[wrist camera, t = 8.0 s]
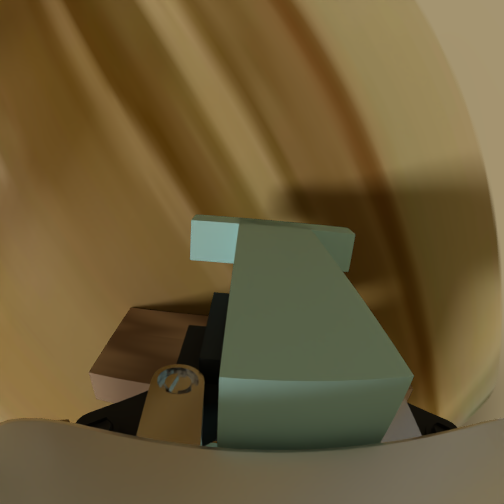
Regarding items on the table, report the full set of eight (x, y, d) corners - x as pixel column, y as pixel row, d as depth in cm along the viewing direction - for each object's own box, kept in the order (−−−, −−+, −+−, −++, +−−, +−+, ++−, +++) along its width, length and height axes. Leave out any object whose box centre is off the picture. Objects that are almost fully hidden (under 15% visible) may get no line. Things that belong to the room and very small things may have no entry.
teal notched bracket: (195, 214, 12) (88, 357, 3) (347, 227, 12) (492, 364, 4) (197, 453, 17) (181, 576, 8) (291, 458, 17) (305, 579, 8)
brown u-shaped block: (133, 330, 17) (96, 398, 12) (130, 307, 17) (88, 372, 11) (365, 345, 18) (400, 413, 12) (372, 323, 17) (413, 389, 12)
